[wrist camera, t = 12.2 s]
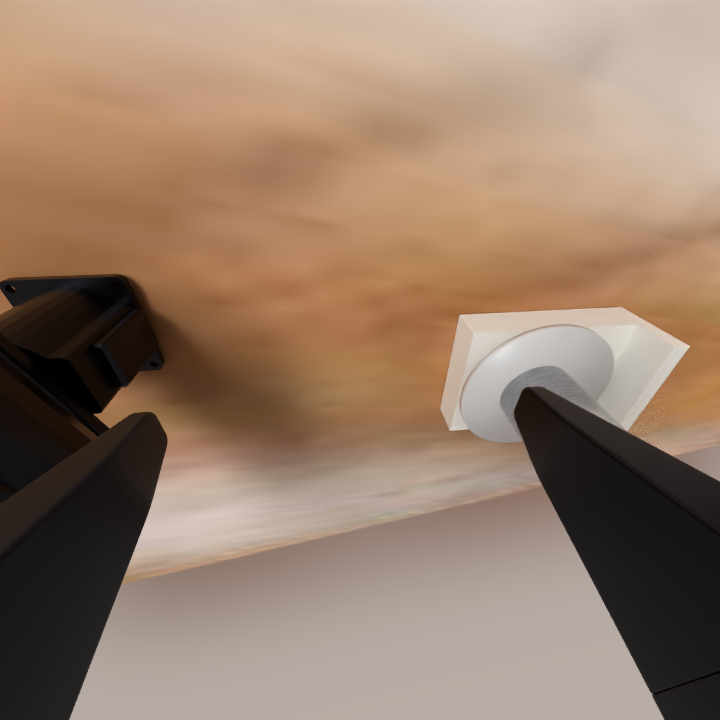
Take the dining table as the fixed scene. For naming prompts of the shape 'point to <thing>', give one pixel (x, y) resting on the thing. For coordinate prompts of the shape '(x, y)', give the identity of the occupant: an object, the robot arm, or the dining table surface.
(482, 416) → the scale
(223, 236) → the dining table surface
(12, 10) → the dining table surface
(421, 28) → the dining table surface
